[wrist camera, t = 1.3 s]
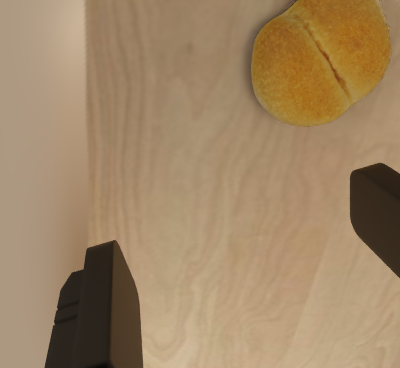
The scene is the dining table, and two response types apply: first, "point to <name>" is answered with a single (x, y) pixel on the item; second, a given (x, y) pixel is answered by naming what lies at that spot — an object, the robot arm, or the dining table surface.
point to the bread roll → (319, 59)
